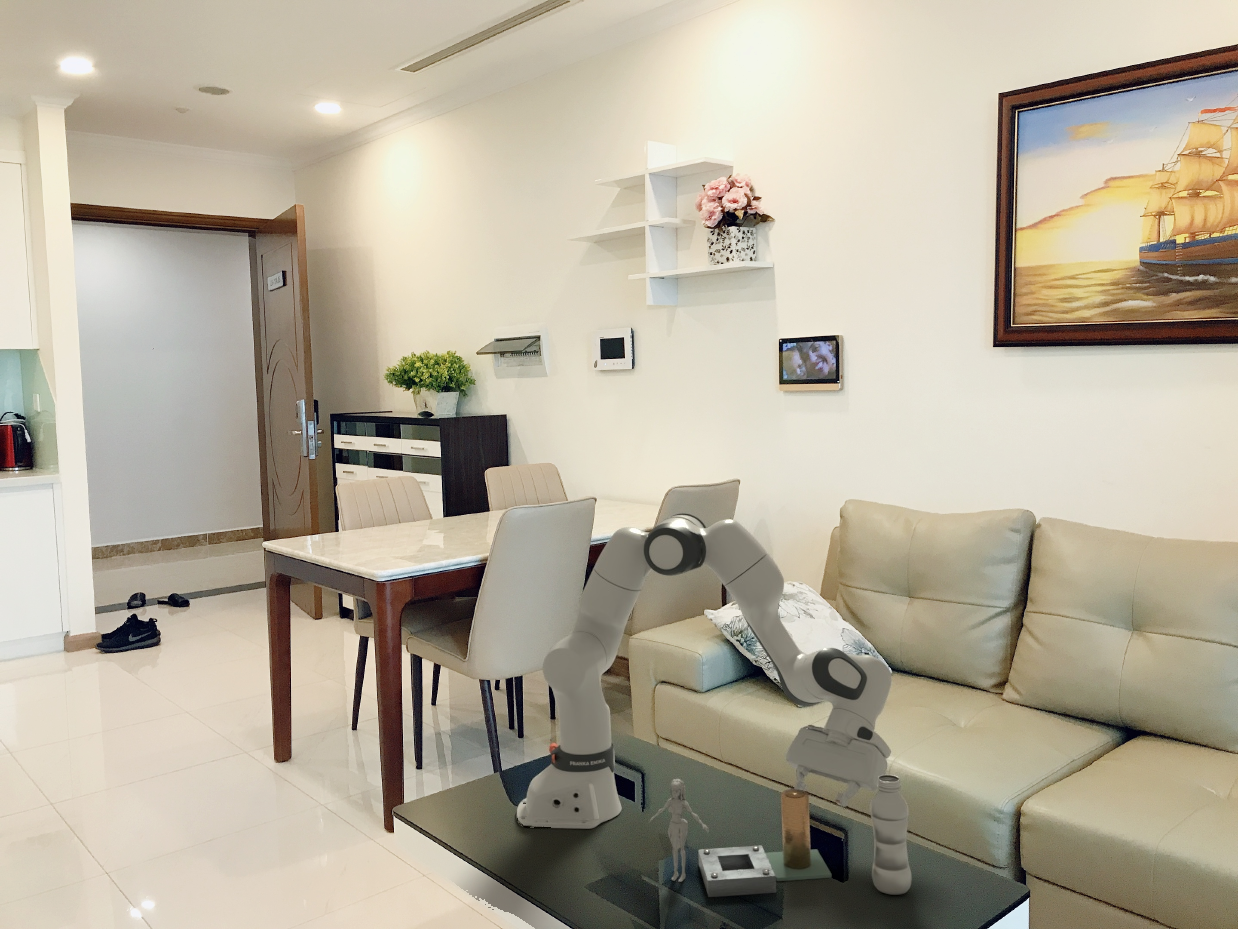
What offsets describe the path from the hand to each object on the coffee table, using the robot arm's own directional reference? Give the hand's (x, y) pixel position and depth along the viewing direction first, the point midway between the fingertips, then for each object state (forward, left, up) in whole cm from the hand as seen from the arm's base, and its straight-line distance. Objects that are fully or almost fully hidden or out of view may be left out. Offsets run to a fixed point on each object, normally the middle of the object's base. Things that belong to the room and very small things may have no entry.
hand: (819, 798), depth 183 cm
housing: (-18, -7, -11) cm, 22 cm away
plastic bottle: (+8, -15, -11) cm, 21 cm away
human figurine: (-28, -5, -11) cm, 30 cm away
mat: (-6, -4, -11) cm, 13 cm away
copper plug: (-6, -4, -10) cm, 12 cm away
